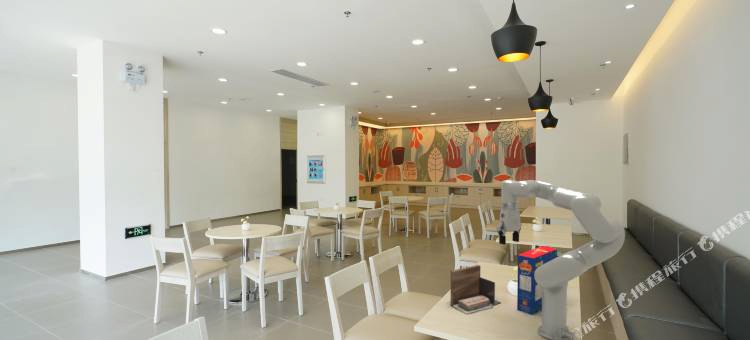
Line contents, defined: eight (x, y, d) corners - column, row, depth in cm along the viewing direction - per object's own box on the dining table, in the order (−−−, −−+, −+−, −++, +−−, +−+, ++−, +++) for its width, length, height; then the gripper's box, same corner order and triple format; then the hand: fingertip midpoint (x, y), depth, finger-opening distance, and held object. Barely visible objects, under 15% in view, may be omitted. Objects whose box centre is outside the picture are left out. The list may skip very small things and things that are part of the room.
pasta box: (541, 296, 198) (542, 246, 197) (556, 300, 192) (557, 248, 191) (517, 310, 179) (517, 254, 178) (533, 315, 173) (533, 258, 173)
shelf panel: (480, 298, 194) (480, 265, 193) (453, 306, 183) (453, 271, 182) (477, 297, 195) (477, 264, 195) (450, 305, 185) (450, 270, 184)
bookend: (501, 303, 188) (501, 280, 187) (493, 305, 185) (494, 282, 184) (485, 297, 196) (486, 275, 196) (478, 299, 193) (479, 277, 193)
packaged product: (479, 292, 191) (493, 299, 182) (479, 301, 191) (493, 308, 182) (453, 298, 182) (466, 306, 173) (452, 308, 182) (466, 315, 174)
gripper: (504, 208, 160) (503, 246, 160) (528, 206, 169) (527, 242, 170) (490, 206, 166) (490, 243, 167) (514, 204, 176) (513, 239, 176)
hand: (509, 242), depth 168 cm, fingers open, 9 cm apart
